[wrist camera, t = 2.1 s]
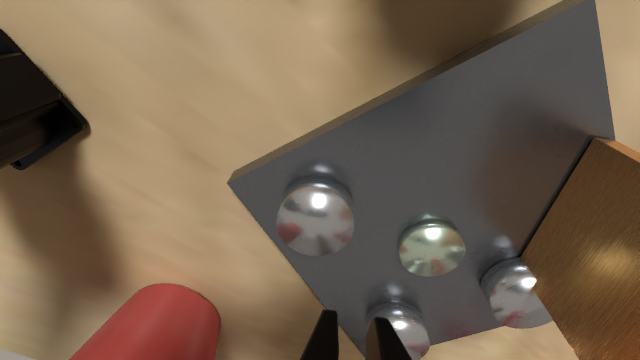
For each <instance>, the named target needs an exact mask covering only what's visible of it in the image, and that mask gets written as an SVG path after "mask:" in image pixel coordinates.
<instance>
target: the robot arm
mask: <svg viewBox="0 0 640 360" xmlns="http://www.w3.org/2000/svg"><path fill="white" fill-rule="evenodd" d="M74 121H76V122H77V124H78V125H76V124H75V122H74ZM86 127H87V123H86V120H85V119H84V118H83V117H82V116H81V114H80V113H79V112H78V111H77V110H76V109H75V108H74V107H73V106H72V105H71V104H70V103H69V102H68V100H67V99H66V98H65V97H64V96H63V95H62V94H61V93H60V92H59V91H58V90H57V89H56V88H55V86H54V85H53V84H52V83H51V82H50V81H49V80H48V79H47V78H46V77H45V76H44V75H43V74H42V72H41V71H40V70H39V69H38V68H37V67H36V66H35V65H34V64H33V63H32V62H31V61H30V60H29V58H28V57H27V56H26V55H25V54H24V53H23V52H22V51H21V50H20V49H19V48H18V47H17V46H16V45H15V43H14V42H13V41H12V40H11V39H10V38H9V37H8V36H7V35H6V34H5V33H4V32H3V31H2V30H1V29H0V169H1V168H3V167H5V166H7V165H9V164H10V165H12V166H13V167H14V168H16V169H18V170H23V169H25V168H27V167H29V166H31V165H32V164H34V163H35V162H37V161H38V160H39V159H41V158H42V157H44V156H45V155H47V154H48V153H50V152H51V151H53V150H54V149H56V148H57V147H59V146H60V145H62V144H63V143H65V142H66V141H68V140H69V139H70V138H72V137H73V136H75V135H76V134H78V133H79V132H81V131H82V130H84V129H85V128H86ZM338 357H339V341H338V314H337V311H336V310H330V309H323V311H322V313H321V315H320V317H319V319H318V321H317V323H316V326H315V328H314V330H313V332H312V334H311V337H310V339H309V341H308V343H307V345H306V347H305V350H304V352H303V354H302V356H301V358H300V360H338ZM366 360H412V358H411V357H410V355H409V353H408V352H407V350H406V348H405V346H404V345H403V343H402V341H401V340H400V338H399V336H398V335H397V333H396V331H395V330H394V328H393V326H392V325H391V323H390V321H389V320H388V319H387V318H385V317H378V316H374V317H373V318H372V320H371V323H370V326H369V329H368V331H367V335H366Z"/></svg>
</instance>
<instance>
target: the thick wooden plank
mask: <svg viewBox="0 0 640 360" xmlns="http://www.w3.org/2000/svg"><path fill="white" fill-rule="evenodd" d="M481 289H482V292H483V294H484V296H485V298H486V300H487V302H488V304H489V306H490V308H491V310H492V312H493V315H494V317H495V318H496V319H497V321H499V322H500V323H501V324H503V325H505V326H508V327H512V328H521V329H524V328H533V327H538V326H541V325H544V324H547V323H549V322H551V321H552V320H554V322H555V323H556V325H557V326H558V328H559V329H560V331H561V332H562V334H563V335H564V337H565V338H566V340H567V341H568V343H569V345H570V346H571V348H572V349H573V351H574V352H575V354H576V355H577V357H578V358H579V360H640V153H638V152H636V151H635V150H633V149H631V148H629V147H627V146H625V145H623V144H621V143H619V142H617V141H613V140H607V139H601V138H595V137H594V139H593V140H592V142H591V144H590V145H589V147H588V149H587V150H586V152H585V153H584V155H583V157H582V158H581V160H580V162H579V163H578V165H577V166H576V168H575V170H574V171H573V173H572V175H571V176H570V178H569V179H568V181H567V183H566V184H565V186H564V188H563V189H562V191H561V192H560V194H559V196H558V197H557V199H556V201H555V202H554V204H553V205H552V207H551V209H550V210H549V212H548V214H547V215H546V217H545V218H544V220H543V222H542V223H541V225H540V227H539V228H538V230H537V231H536V233H535V235H534V236H533V238H532V239H531V241H530V243H529V244H528V246H527V248H526V249H525V251H524V252H523V254H522V256H521V257H516V258H511V259H507V260H505V261H502V262H500V263H498V264H496V265H494V266H493V267H492V268H490V269H489V270H488V271H487V272H486V274H485V275H484V277H483V279H482V282H481Z"/></svg>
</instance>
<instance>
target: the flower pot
mask: <svg viewBox="0 0 640 360" xmlns="http://www.w3.org/2000/svg"><path fill="white" fill-rule="evenodd" d="M219 327H220V318H219V315H218V312H217V310H216V309H215V307H214V306H213V305H212V303H211V302H210V301H209V300H207V299H204V298H203V297H202V296H201V295H200V294H199V293H197V292H195V291H193V290H191V289H189V288H186V287H183V286H179V285H174V284H154V285H150V286H147V287H145V288H142V289H141V290H139V291H138V292H136V293H135V294H134V295H133V296H132V297H131V298H130V299H129V300H128V301H127V302H126V303H125V304H124V305H123V306H122V307H121V308H120V309H119V310H118V311H117V312H116V313H115V314H114V315H113V316H112V317H111V318H110V319H109V320H108V321H107V322H106V323H105V324H104V325H103V326H102V327H101V328H100V329H99V330H98V331H97V332H96V333H95V334H94V335H93V336H92V337H91V338H90V339H89V340H88V341H87V342H86V343H85V344H84V345H83V346H82V347H81V348H80V349H79V350H78V351H77V352H76V353H75V354H74V355H73V356H72V358H71V359H70V360H215V355H216V348H217V340H218V333H219Z"/></svg>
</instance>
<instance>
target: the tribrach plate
mask: <svg viewBox="0 0 640 360" xmlns="http://www.w3.org/2000/svg"><path fill="white" fill-rule="evenodd" d="M594 137H595V138H601V139H607V140H613V141H615V134H614V127H613V121H612V114H611V107H610V100H609V93H608V86H607V80H606V73H605V66H604V59H603V52H602V45H601V39H600V32H599V25H598V18H597V11H596V4H595V0H563V1H561V2H559V3H557V4H555V5H554V6H552V7H550V8H548V9H546V10H544V11H542V12H540V13H538V14H536V15H534V16H532V17H530V18H528V19H527V20H525V21H523V22H521V23H519V24H517V25H515V26H513V27H511V28H509V29H507V30H505V31H503V32H502V33H500V34H498V35H496V36H494V37H492V38H490V39H488V40H486V41H484V42H482V43H480V44H478V45H476V46H475V47H473V48H471V49H469V50H467V51H465V52H463V53H461V54H459V55H457V56H455V57H453V58H451V59H450V60H448V61H446V62H444V63H442V64H440V65H438V66H436V67H434V68H432V69H430V70H428V71H426V72H424V73H423V74H421V75H419V76H417V77H415V78H413V79H411V80H409V81H407V82H405V83H403V84H401V85H399V86H398V87H396V88H394V89H392V90H390V91H388V92H386V93H384V94H382V95H380V96H378V97H376V98H374V99H373V100H371V101H369V102H367V103H365V104H363V105H361V106H359V107H357V108H355V109H353V110H351V111H349V112H347V113H346V114H344V115H342V116H340V117H338V118H336V119H334V120H332V121H330V122H328V123H326V124H324V125H322V126H321V127H319V128H317V129H315V130H313V131H311V132H309V133H307V134H305V135H303V136H301V137H299V138H297V139H295V140H294V141H292V142H290V143H288V144H286V145H284V146H282V147H280V148H278V149H276V150H274V151H272V152H270V153H269V154H267V155H265V156H263V157H261V158H259V159H257V160H255V161H253V162H251V163H249V164H247V165H245V166H243V167H242V168H240V169H238V170H236V171H234V172H233V174H232V176H231V177H230V179H229V180H228V182H227V184H228V185H229V186H230V188H231V189H232V190H233V191H234V193H235V194H236V195H237V196H238V198H239V199H240V200H241V202H242V203H243V204H244V205H245V207H246V208H247V209H248V210H249V212H250V213H251V214H252V215H253V217H254V218H255V219H256V220H257V222H258V223H259V224H260V225H261V227H262V228H263V229H264V230H265V232H266V233H267V234H268V236H269V237H270V238H271V239H272V241H273V242H274V243H275V244H276V246H277V247H278V248H279V249H280V251H281V252H282V253H283V254H284V256H285V257H286V258H287V259H288V261H289V262H290V263H291V264H292V266H293V267H294V268H295V270H296V271H297V272H298V273H299V275H300V276H301V277H302V278H303V280H304V281H305V282H306V283H307V285H308V286H309V287H310V288H311V290H312V291H313V292H314V293H315V295H316V296H317V297H318V298H319V300H320V301H321V302H322V304H323V305H324V306H325V307H326V309H330V310H336V311H337V314H338V324H339V325H340V326H341V327H342V329H343V330H344V331H345V332H346V334H347V335H348V336H349V338H350V339H351V340H352V341H353V343H354V344H355V345H356V346H357V348H358V349H359V350H360V351H361V353H362V354H363V355H364V356H365V358H366V335H367V331H368V329H369V326H370V323H371V320H372V318H373V317H374V316H378V317H385V318H387V319H388V320H389V321H390V323H391V325H392V326H393V328H394V330H395V331H396V333H397V335H398V336H399V338H400V340H401V341H402V343H403V345H404V346H405V348H406V350H407V352H408V353H409V355H410V357H411V358H412V360H418V359H420V358H421V357H423V356H424V355H425V354H426V353H427V351H428V350H429V347H430V346H431V345H435V344H439V343H442V342H446V341H450V340H454V339H457V338H461V337H465V336H468V335H472V334H476V333H480V332H483V331H487V330H491V329H494V328H498V327H502V326H505V325H503V324H501V323H500V322H499V321H497V319H496V318H495V317H494V315H493V312H492V310H491V308H490V306H489V304H488V302H487V300H486V298H485V296H484V294H483V292H482V289H481V282H482V279H483V277H484V275H485V274H486V272H487V271H488V270H489V269H490V268H492V267H493V266H494V265H496V264H498V263H500V262H502V261H505V260H507V259H511V258H516V257H521V256H522V254H523V252H524V251H525V249H526V248H527V246H528V244H529V243H530V241H531V239H532V238H533V236H534V235H535V233H536V231H537V230H538V228H539V227H540V225H541V223H542V222H543V220H544V218H545V217H546V215H547V214H548V212H549V210H550V209H551V207H552V205H553V204H554V202H555V201H556V199H557V197H558V196H559V194H560V192H561V191H562V189H563V188H564V186H565V184H566V183H567V181H568V179H569V178H570V176H571V175H572V173H573V171H574V170H575V168H576V166H577V165H578V163H579V162H580V160H581V158H582V157H583V155H584V153H585V152H586V150H587V149H588V147H589V145H590V144H591V142H592V140H593V139H594Z"/></svg>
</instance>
